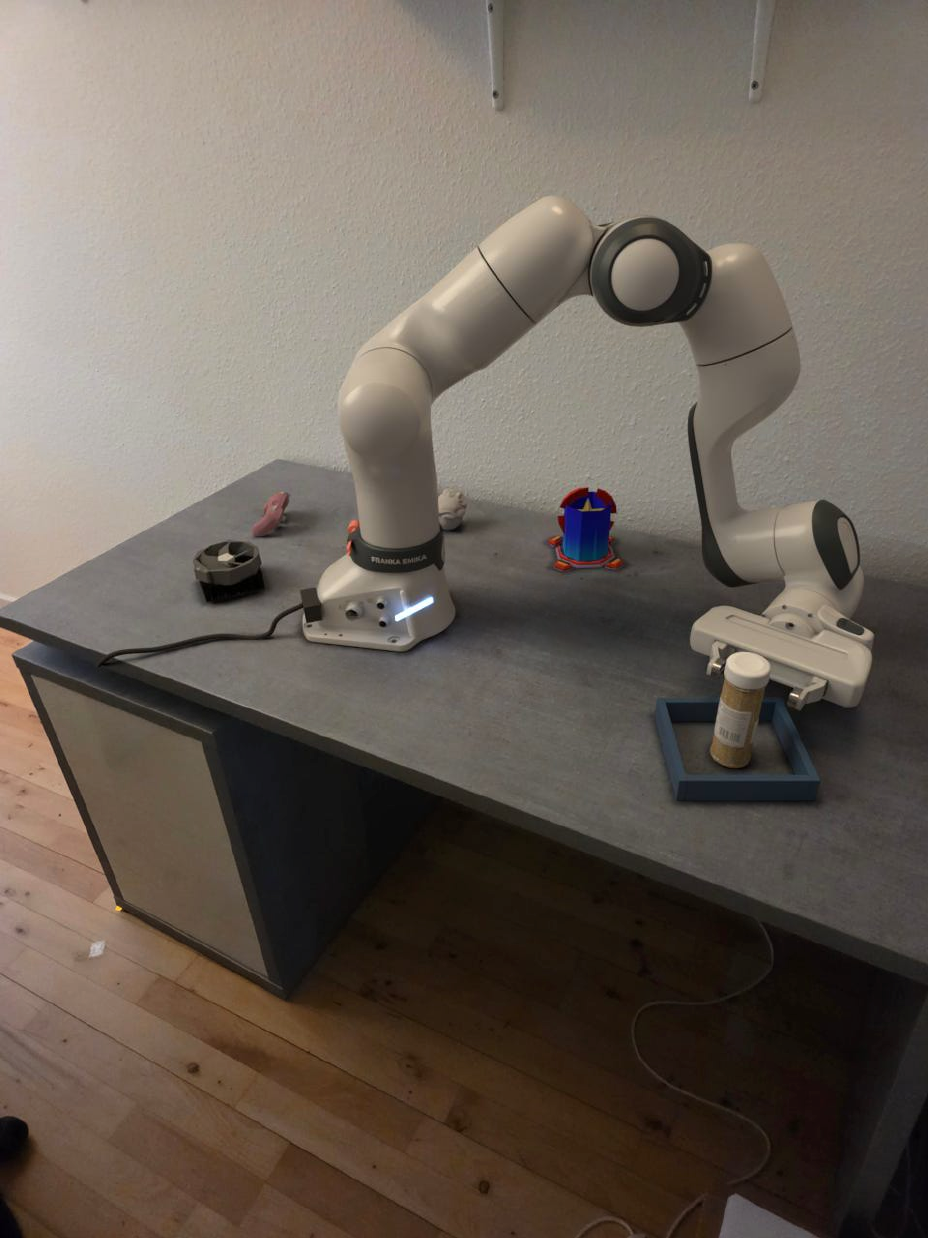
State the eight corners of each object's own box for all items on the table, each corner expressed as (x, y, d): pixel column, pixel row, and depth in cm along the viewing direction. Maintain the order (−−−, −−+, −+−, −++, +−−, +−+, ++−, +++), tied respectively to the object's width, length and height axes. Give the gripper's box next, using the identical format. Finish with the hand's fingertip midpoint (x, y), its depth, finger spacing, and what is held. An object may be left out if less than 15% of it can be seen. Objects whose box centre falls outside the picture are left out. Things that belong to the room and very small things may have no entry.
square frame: (675, 800, 86) (679, 780, 84) (654, 716, 97) (656, 697, 95) (814, 800, 85) (820, 780, 83) (776, 716, 96) (781, 697, 95)
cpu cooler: (251, 533, 129) (265, 561, 121) (257, 564, 132) (271, 592, 124) (186, 547, 125) (196, 577, 118) (194, 578, 128) (204, 609, 121)
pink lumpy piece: (274, 545, 140) (286, 513, 137) (249, 535, 139) (261, 502, 136) (285, 520, 149) (297, 489, 145) (262, 510, 147) (273, 479, 144)
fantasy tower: (613, 535, 136) (619, 470, 129) (627, 570, 126) (633, 501, 120) (545, 538, 136) (547, 473, 129) (553, 573, 126) (555, 504, 120)
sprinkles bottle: (758, 759, 90) (781, 665, 83) (731, 775, 88) (752, 681, 81) (727, 737, 94) (746, 645, 86) (700, 752, 91) (717, 659, 84)
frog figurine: (475, 525, 141) (474, 489, 137) (449, 540, 137) (447, 503, 133) (449, 516, 144) (448, 480, 141) (423, 530, 140) (421, 494, 136)
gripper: (719, 583, 102) (671, 633, 93) (889, 637, 91) (852, 699, 82) (712, 624, 105) (664, 675, 96) (874, 680, 94) (837, 744, 85)
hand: (752, 687), depth 89 cm, fingers open, 8 cm apart
